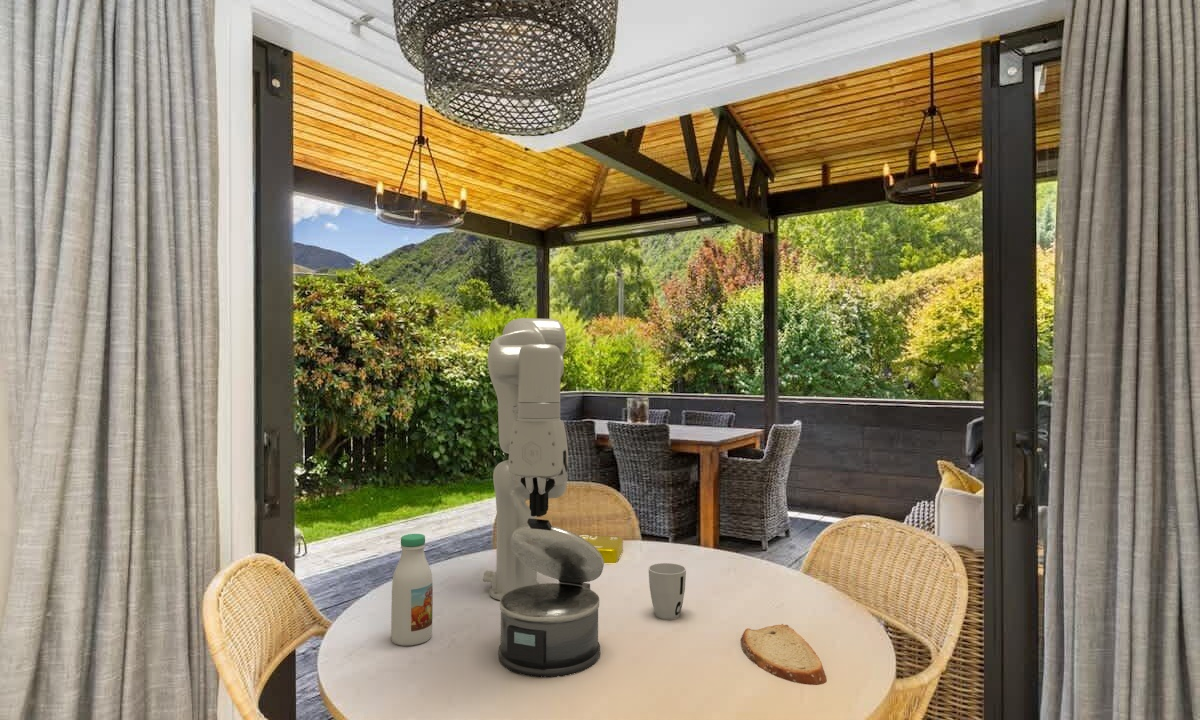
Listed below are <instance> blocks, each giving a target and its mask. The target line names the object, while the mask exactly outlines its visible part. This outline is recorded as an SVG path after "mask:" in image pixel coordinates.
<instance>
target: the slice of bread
mask: <svg viewBox="0 0 1200 720" xmlns="http://www.w3.org/2000/svg"><path fill="white" fill-rule="evenodd" d="M740 644H741V645H740V647H741V649H742V651H743V653H744V655H745V656H746V657H747V659H749V661H751V662H753V663H754V664H756V665H757V667H758V668H759V669H762V670H763V671H765V672H766V673H769V674H771V675H772V676H774V677H777V678H780V679H783V680H785V681H789V682H793V683H797V684H801V685H810V686H820V685H823V684H825V683H827V675H826V673H825V669H824V667H823V664H822V661H821V659H820V658H819V656H818V654H817V653H816V652H815V650H814V649H813V648H812V646H810V644H809V643H808V642H807V641H806V640H805V639H804V638H803V637H802V636H801V635H800V634H799V633H798V632H797V631H796V630H795V629H794V628H792V627H790V626H789V625H788V624H784V623H782V624H774V625H772V626H769V625H768V626H765V627H763V628H759V629H751V628H745V630H744V631H743V633H742V635H741V638H740Z"/></svg>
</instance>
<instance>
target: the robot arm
mask: <svg viewBox="0 0 1200 720" xmlns="http://www.w3.org/2000/svg"><path fill="white" fill-rule="evenodd" d="M566 334H567V333H566V329H565V327H564V325H563V324H562V322H561V321H559V320H558V319H555V318H533V317H532V318H531V317H530V318H529V317H522V318H521V317H520V318H514V319H512V320H510V321H508V323H506V324H505V326H504V328H503V329H502V335H499V336H497V337H495V338H494V339H493V340H492V341H491V342H490V345H489V346H488V352H487V368H488V373H489V377H490V380H491V383H492V386H493V389H494V391H495V394H496V398H497V417H498V442H499V447H500V449H501V451H502V452H503V453H505V454H508V459H507V460H503V461H501V462H499V463H497V465H495V467H494V469H493V475H492V478H493V479H492V480H493V488H494V494H495V506H496V507H495V508H496V559H495V561H496V564H495V565H496V567H495V568H496V570H495V571H496V572H495V571H492V570H491V571H490V570H485V571H484V573H483V576H482V582H487V583H491V586H490V588H489V596H490V597H491V598H492V599H494V600H497V601H500V599H501V597H502V596H503V595H504V594H506V593H507V592H509V591H511V590H514V589H517V588H520V587H524V586H528V585H535V584H540V583H539V582H538V581H537V574H538V572H537V571H535V570H533V569H531V568H530V567H528V566H527V565H525V564H524V563H523V562H521V561H520V560H519V559H518V558H517V557H516V556H515V554H514V553H513V552H512V550H511V547H510V540H511V537H512V535H513V533H514V531H515V530H516V529H518V528H519V527H522V526H525V525H528V523H527V521H528V519H529V518H530V519H537V517H538V518H541V517H543V516H546V515H547V513H548V510H549V499H558V498H561V497H562V496H564V495H565V493H566V491H567V485H568V476H567V473H568V469H569V456H568V455H569V453H568V451H569V450H568V439H567V434H566V433H567V432H566V428H565V427H566V426H565V423H564V420H561V377H562V376H563V375H564V367H565V364H564V353H565V350H566V344H567V335H566ZM527 501H529V504H528V503H527Z"/></svg>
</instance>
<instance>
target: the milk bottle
mask: <svg viewBox="0 0 1200 720" xmlns="http://www.w3.org/2000/svg"><path fill="white" fill-rule="evenodd" d="M425 544H426V536H425V535H424V534H422V533H409V534H405V535H402V536H401V537H400V549H401V555H400V557H399V561H398V563H397V565H396V568H395V570H394V572H393V576H392V583H391V613H390V614H391V616H390V619H391V620H390V627H391V629H390V632H391V633H390V635H391V638H390V639H391V642H392V643H393V644H395V645H398V646H402V647H404V646H408V647H409V646H416V645H417V646H418V645H421V644H423V643H427V641H429V640H430V639H431V638H432V636H433V604H434V603H433V599H434V598H433V594H434V593H433V590H434V589H433V588H434V587H433V585H434V584H433V574H432V570H431V567H430V565H429V563H428V562H429V561H428V560H427V558H426V553H425V549H424V548H425V547H426V545H425Z"/></svg>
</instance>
